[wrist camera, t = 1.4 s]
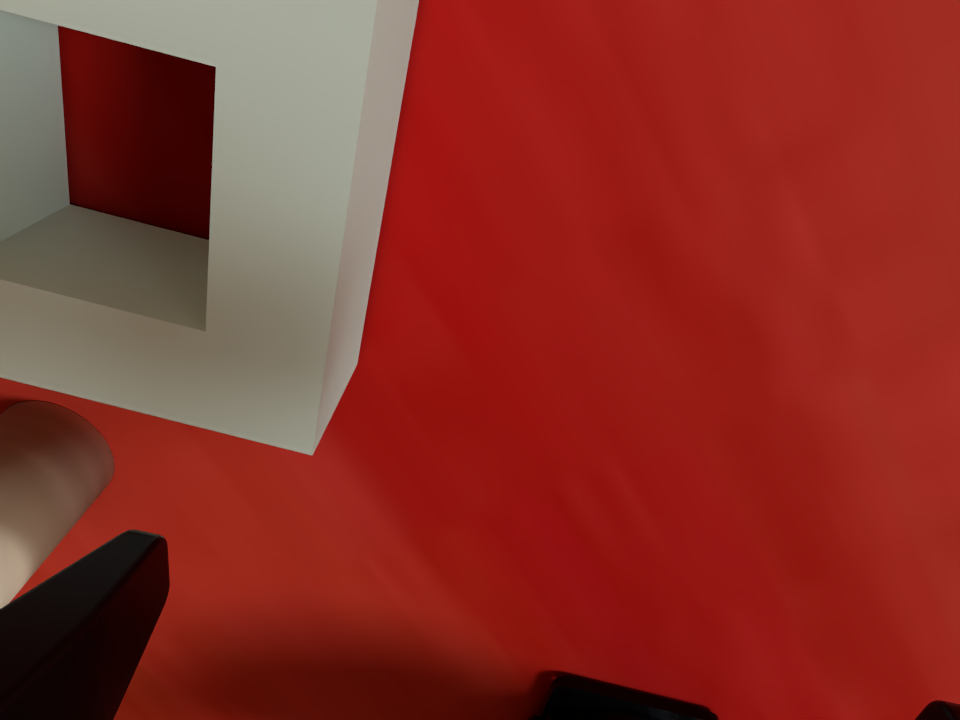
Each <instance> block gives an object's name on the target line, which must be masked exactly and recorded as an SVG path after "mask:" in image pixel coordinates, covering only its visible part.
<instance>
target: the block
mask: <svg viewBox="0 0 960 720" xmlns="http://www.w3.org/2000/svg"><path fill="white" fill-rule="evenodd" d="M418 3H419V0H0V377H1V378H5V379H9V380H13V381H17V382H21V383H25V384H29V385H33V386H37V387H41V388H45V389H49V390H53V391H57V392H61V393H65V394H69V395H73V396H77V397H81V398H85V399H89V400H93V401H97V402H101V403H105V404H109V405H113V406H117V407H121V408H125V409H129V410H133V411H137V412H141V413H145V414H149V415H153V416H157V417H161V418H165V419H169V420H173V421H177V422H181V423H185V424H189V425H193V426H197V427H201V428H205V429H209V430H213V431H217V432H221V433H225V434H229V435H233V436H237V437H241V438H245V439H249V440H253V441H257V442H261V443H265V444H269V445H272V446H276V447H280V448H284V449H288V450H292V451H296V452H300V453H304V454H308V455H313V453H314V451H315V449H316V447H317V445H318V443H319V441H320V439H321V437H322V435H323V433H324V431H325V429H326V427H327V425H328V423H329V421H330V419H331V416H332V414H333V412H334V410H335V408H336V406H337V404H338V402H339V400H340V398H341V396H342V394H343V392H344V390H345V388H346V386H347V384H348V382H349V380H350V378H351V376H352V374H353V372H354V370H355V368H356V366H357V362H358V356H359V350H360V345H361V339H362V333H363V327H364V321H365V315H366V309H367V303H368V297H369V292H370V286H371V280H372V274H373V268H374V262H375V256H376V250H377V244H378V239H379V233H380V227H381V221H382V215H383V209H384V203H385V197H386V192H387V186H388V180H389V174H390V168H391V162H392V156H393V150H394V144H395V139H396V133H397V127H398V121H399V115H400V109H401V103H402V97H403V92H404V86H405V80H406V74H407V68H408V62H409V56H410V50H411V44H412V39H413V33H414V27H415V21H416V15H417V9H418ZM58 25H59V26H63V27H67V28H71V29H74V30H78V31H82V32H86V33H89V34H93V35H97V36H101V37H105V38H108V39H112V40H116V41H120V42H123V43H127V44H131V45H135V46H139V47H142V48H146V49H150V50H154V51H157V52H161V53H165V54H169V55H172V56H176V57H180V58H184V59H188V60H191V61H195V62H199V63H203V64H206V65H210V66H214V67H216V78H215V103H214V129H213V155H212V180H211V206H210V232H209V240H206V239H202V238H198V237H195V236H191V235H187V234H183V233H179V232H175V231H171V230H167V229H164V228H160V227H156V226H152V225H148V224H144V223H140V222H137V221H133V220H129V219H125V218H121V217H117V216H113V215H109V214H106V213H102V212H98V211H94V210H90V209H86V208H82V207H78V206H75V205H71V204H70V201H69V186H68V171H67V156H66V141H65V126H64V111H63V97H62V82H61V67H60V52H59V37H58Z"/></svg>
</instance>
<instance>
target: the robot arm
mask: <svg viewBox="0 0 960 720" xmlns="http://www.w3.org/2000/svg"><path fill="white" fill-rule="evenodd" d="M169 586H170V580H169V563H168V546H167V541H166V539H165V538H164V537H163V536H161V535H158V534H153V533H149V532H144V531H139V530H128V531H126V532H123V533H121V534H120V535H118V536H116V537H115V538H113V539H112V540H110V541H108V542H107V543H105V544H104V545H102V546H100V547H99V548H97V549H96V550H94V551H92V552H91V553H89V554H88V555H86V556H84V557H83V558H81V559H80V560H78V561H76V562H75V563H73V564H72V565H70V566H68V567H67V568H65V569H63V570H62V571H60V572H59V573H57V574H55V575H54V576H52V577H51V578H49V579H47V580H46V581H44V582H43V583H41V584H39V585H38V586H36V587H35V588H33V589H31V590H30V591H28V592H27V593H25V594H23V595H22V596H20V597H18V598H17V599H15V600H14V601H12V602H10V603H9V604H7V605H6V606H4V607H2V608H1V609H0V720H113V719H114V717H115V715H116V713H117V710H118V708H119V706H120V704H121V701H122V699H123V697H124V695H125V692H126V690H127V688H128V686H129V683H130V681H131V679H132V677H133V674H134V672H135V670H136V668H137V666H138V663H139V661H140V659H141V657H142V654H143V652H144V650H145V648H146V645H147V643H148V641H149V639H150V636H151V634H152V632H153V630H154V627H155V625H156V623H157V621H158V618H159V616H160V614H161V612H162V609H163V607H164V605H165V602H166V599H167V596H168V592H169ZM528 720H719V719H718V716H717V715H715V714H714V713H712V712H708V711H704V710H700V709H696V708H692V707H688V706H684V705H680V704H676V703H671V702H667V701H663V700H659V699H655V698H651V697H647V696H643V695H639V694H635V693H631V692H626V691H622V690H618V689H614V688H610V687H606V686H602V685H598V684H594V683H590V682H585V681H581V680H577V679H573V678H569V677H559V678H557V679H555V680H554V681H553V682H552V684H551V686H550V688H549V690H548V693H547V695H546V697H545V699H544V701H543V703H542V706H541V708H540V710H539V712H538V714H537V715H535V714H534V715H533V716H531V717H530V718H529V719H528ZM915 720H960V704H955V703H950V702H946V701H940V700H936V701H933V702H931V703H929V704H928V705H927V706H926V707H925V708H924V709H923V711H922V712H921V713H920V714H919V715H918V716H917V718H916V719H915Z"/></svg>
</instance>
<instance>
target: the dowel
mask: <svg viewBox="0 0 960 720" xmlns="http://www.w3.org/2000/svg"><path fill="white" fill-rule="evenodd" d="M113 474H114V459H113V455H112V452H111V450H110V448H109V446H108V444H107V442H106V440H105V439H104V438H103V436H102V435H101V434H100V433H99V432H98V430H97V429H96V428H95V427H94V426H92V425H91V424H90V423H89V422H88V421H87V420H85V419H84V418H83V417H81V416H79V415H78V414H76V413H75V412H73V411H71V410H69V409H67V408H64V407H62V406H59V405H56V404H53V403H49V402H44V401H24V402H20V403H16V404H14V405H12V406H10V407H9V408H7V409H6V410H5V411H3V412H2V413H1V414H0V609H1V608H2V607H4V606H6V605H7V604H9V602H10V601H11V600H12V599H13V598H14V596H15V595H16V594H17V593H18V592H19V590H20V589H21V588H22V587H23V586H24V585H25V583H26V582H27V581H28V580H29V579H30V577H31V576H32V575H33V574H34V573H35V571H36V570H37V569H38V568H39V567H40V565H41V564H42V563H43V562H44V561H45V559H46V558H47V557H48V556H49V555H50V553H51V552H52V551H53V550H54V549H55V547H56V546H57V545H58V544H59V543H60V542H61V540H62V539H63V538H64V537H65V536H66V534H67V533H68V532H69V531H70V530H71V528H72V527H73V526H74V525H75V524H76V522H77V521H78V520H79V519H80V518H81V516H82V515H83V514H84V513H85V512H86V510H87V509H88V508H89V507H90V506H91V505H92V503H93V502H94V501H95V500H96V499H97V497H98V496H99V495H100V494H101V493H102V491H103V490H104V489H105V488H106V487H107V485H108V484H109V483H110V481H111V479H112V477H113Z"/></svg>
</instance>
